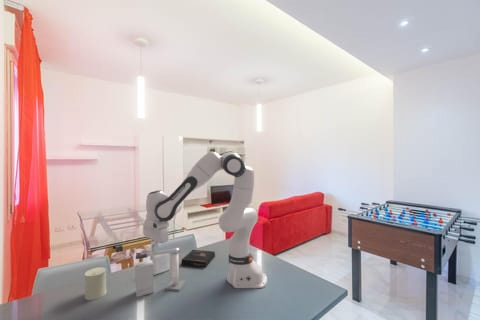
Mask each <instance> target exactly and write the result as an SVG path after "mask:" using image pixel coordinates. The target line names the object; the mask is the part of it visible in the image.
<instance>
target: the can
mask: <svg viewBox="0 0 480 320" xmlns="http://www.w3.org/2000/svg"><path fill="white" fill-rule="evenodd" d="M107 292H108V291H107V268H106V267H103V266H100V267H93V268H91V269H89V270H87V271H85V273H84V299H85V300H87V301H95V300H97V299H101V298H102V297H103V296H105V295H106V294H107Z"/></svg>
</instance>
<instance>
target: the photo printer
mask: <svg viewBox="0 0 480 320" xmlns="http://www.w3.org/2000/svg"><path fill="white" fill-rule="evenodd" d="M151 257H152V258H151V260H152V263H153V276H156V275H159V274H161V273H165V272H167V271H169V270H170V268H171V267H170V266H171V265H170V263H171V261H170V259H171V253H169V254H162V255H156V256H151Z"/></svg>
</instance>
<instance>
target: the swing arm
mask: <svg viewBox="0 0 480 320" xmlns="http://www.w3.org/2000/svg"><path fill="white" fill-rule="evenodd" d="M169 253H170V254H172V255H173V254H177V253H178V254H179V253H180V247H178V246H175V247H172V248H169V249H161V250H156V251H153V250H152V251H142V252H136V255H135V259H136V260H140V259H146V258H148V257H153V256H156V255H162V254H169Z"/></svg>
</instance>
